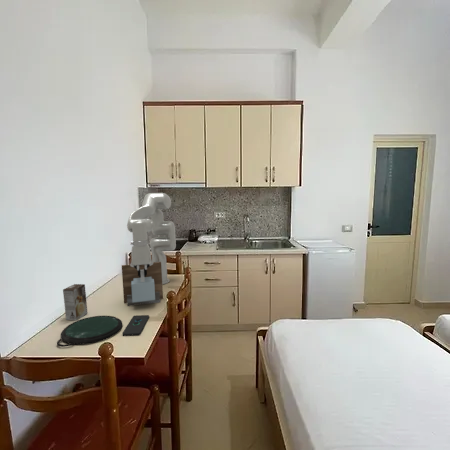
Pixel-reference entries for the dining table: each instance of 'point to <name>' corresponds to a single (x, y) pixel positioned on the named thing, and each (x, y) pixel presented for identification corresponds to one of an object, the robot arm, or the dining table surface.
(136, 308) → the dining table surface
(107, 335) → the dark green flat disc
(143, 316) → the smart home device
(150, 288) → the block with top knob
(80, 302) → the coffee box
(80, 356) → the dining table surface
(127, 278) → the wall board
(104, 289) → the dining table surface
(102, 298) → the dining table surface
